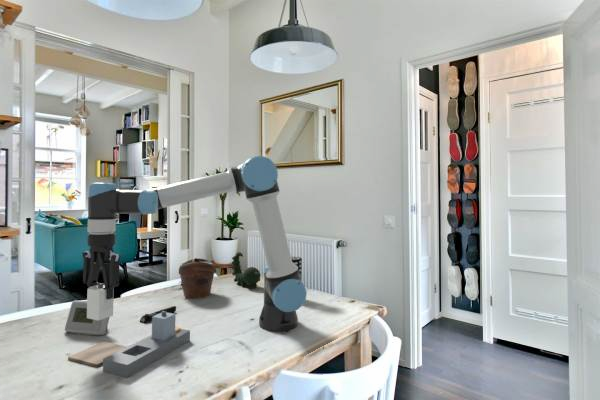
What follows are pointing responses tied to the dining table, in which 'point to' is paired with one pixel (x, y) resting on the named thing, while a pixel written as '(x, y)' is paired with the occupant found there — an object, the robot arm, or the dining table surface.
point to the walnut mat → (96, 353)
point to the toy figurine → (245, 273)
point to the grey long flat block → (143, 353)
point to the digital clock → (84, 321)
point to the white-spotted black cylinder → (298, 263)
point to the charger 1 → (97, 303)
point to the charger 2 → (163, 326)
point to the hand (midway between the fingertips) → (100, 307)
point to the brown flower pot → (197, 277)
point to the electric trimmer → (149, 316)
